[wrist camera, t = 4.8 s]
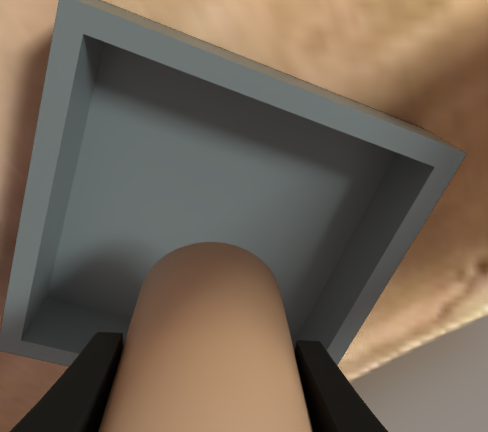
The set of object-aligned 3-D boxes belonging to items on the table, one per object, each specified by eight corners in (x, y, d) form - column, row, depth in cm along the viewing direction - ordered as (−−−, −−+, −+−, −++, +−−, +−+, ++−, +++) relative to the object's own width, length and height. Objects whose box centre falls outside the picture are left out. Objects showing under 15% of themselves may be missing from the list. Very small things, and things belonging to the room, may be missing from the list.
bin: (423, 128, 18) (467, 153, 15) (292, 363, 23) (303, 419, 20) (93, -3, 15) (60, -7, 12) (31, 297, 20) (-3, 350, 17)
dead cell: (289, 245, 13) (414, 629, 5) (272, 361, 14) (342, 786, 6) (137, 238, 12) (-17, 641, 4) (140, 358, 14) (34, 805, 6)
